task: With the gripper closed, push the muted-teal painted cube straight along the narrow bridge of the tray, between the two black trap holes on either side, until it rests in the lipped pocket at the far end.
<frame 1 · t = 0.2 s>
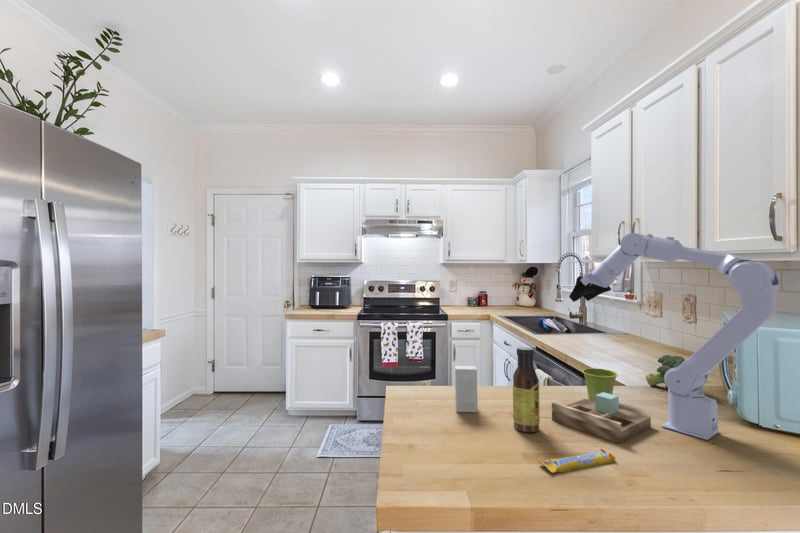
hand: (578, 298, 118), 31 cm above the countertop, tool tilted 45°, fingers open, 7 cm apart
vegetable: (670, 391, 126), on the countertop
candy bar: (578, 466, 78), on the countertop
block: (607, 410, 101), point 2 cm above the countertop, touching tray
skincare box: (466, 410, 109), on the countertop
plant pot: (599, 401, 116), on the countertop
tray: (600, 423, 99), on the countertop
sauce bottle: (526, 429, 96), on the countertop
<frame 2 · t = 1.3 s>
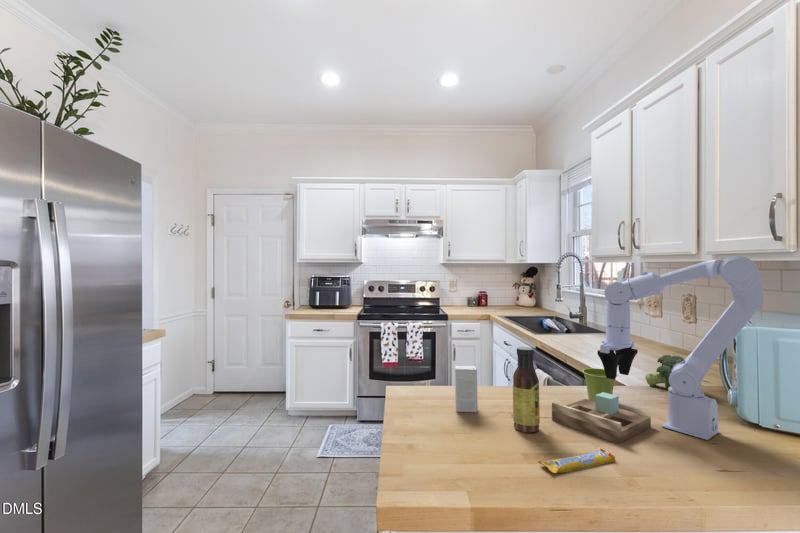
hand: (617, 376, 105), 10 cm above the countertop, tool pointing down, fingers open, 7 cm apart
nothing on the countertop moved.
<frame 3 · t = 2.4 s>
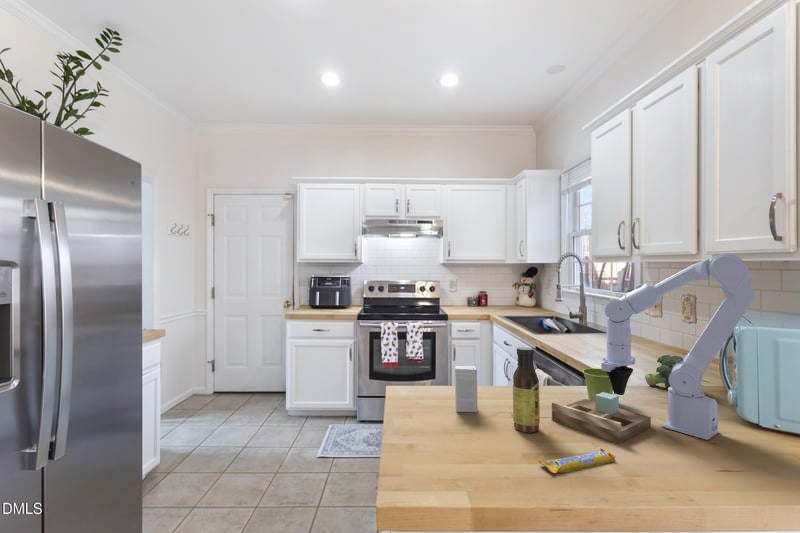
hand: (618, 394, 104), 6 cm above the countertop, tool pointing down, fingers closed
nothing on the countertop moved.
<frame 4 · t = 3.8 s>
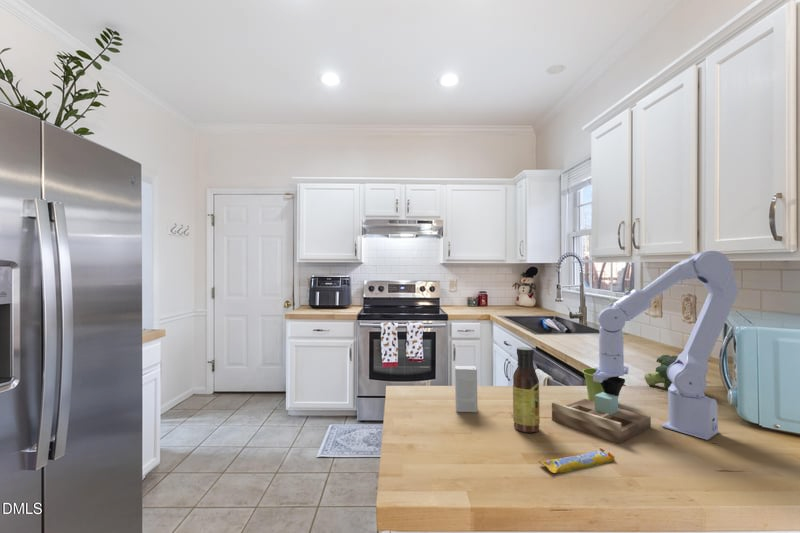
hand: (611, 404, 102), 4 cm above the countertop, tool pointing down, fingers closed
block: (606, 410, 100), point 3 cm above the countertop, touching tray, gripper
everything else where it was.
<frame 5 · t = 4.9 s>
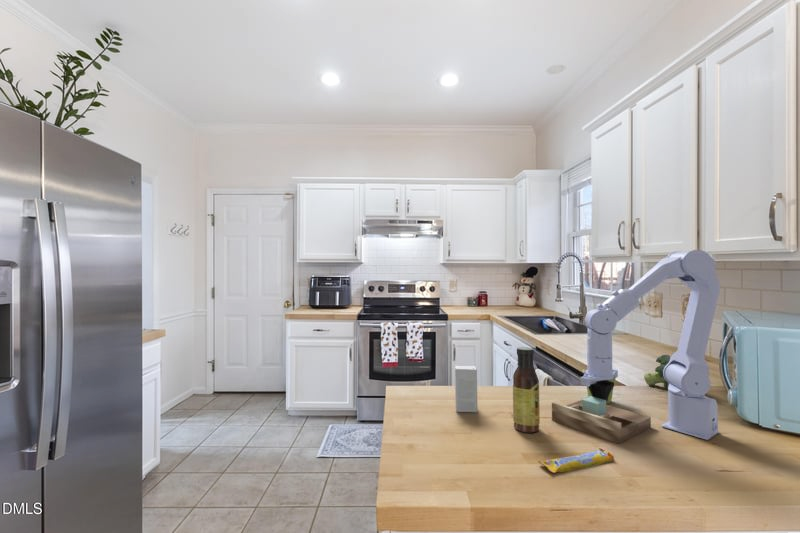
hand: (600, 409, 99), 4 cm above the countertop, tool pointing down, fingers closed, pressing on block
block: (594, 415, 97), point 3 cm above the countertop, touching gripper
everything else where it was.
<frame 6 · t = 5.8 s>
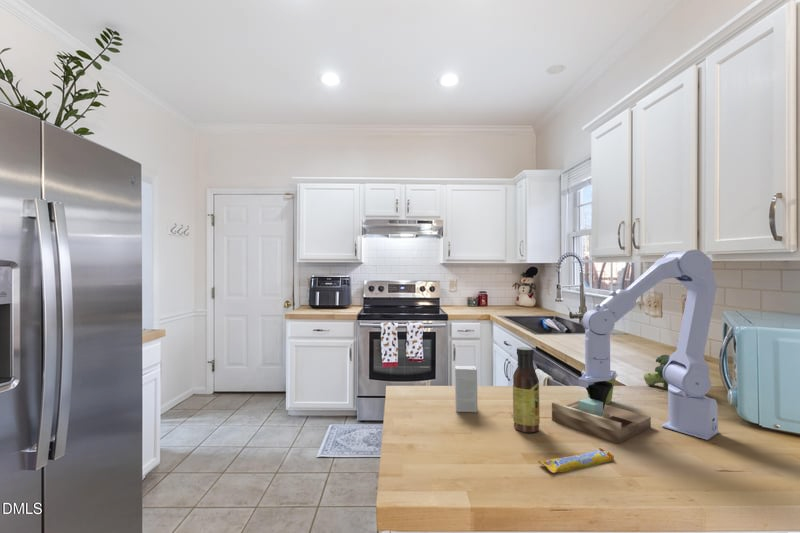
hand: (598, 410, 98), 4 cm above the countertop, tool pointing down, fingers closed
block: (591, 417, 96), point 3 cm above the countertop, touching tray, gripper
everything else where it was.
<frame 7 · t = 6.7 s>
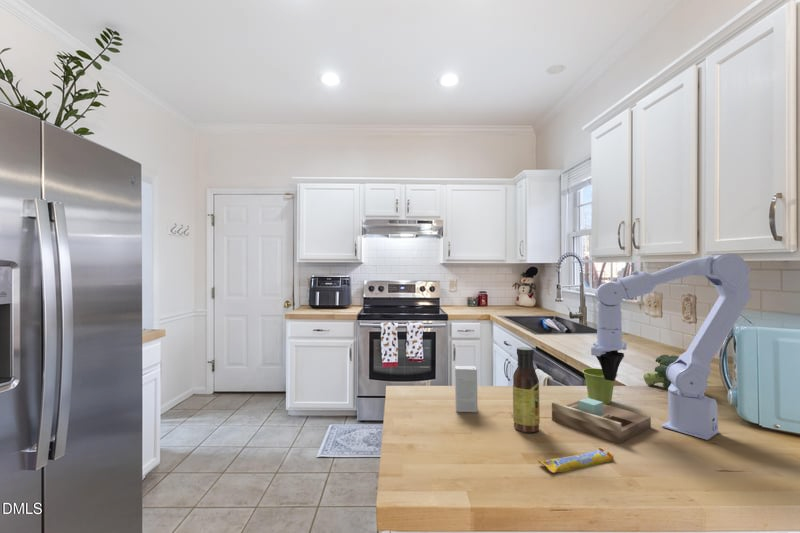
hand: (609, 379, 102), 10 cm above the countertop, tool pointing down, fingers closed
block: (591, 417, 96), point 2 cm above the countertop, touching tray
everything else where it was.
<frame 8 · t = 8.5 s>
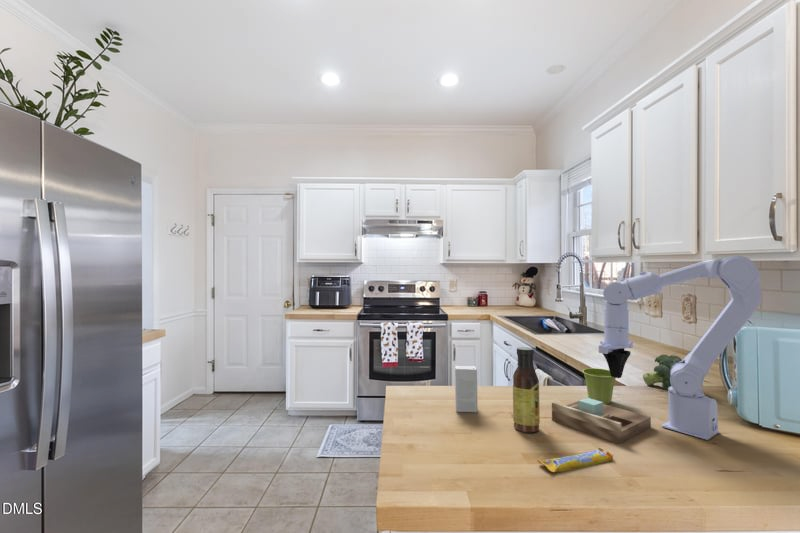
hand: (616, 377, 104), 10 cm above the countertop, tool pointing down, fingers closed
nothing on the countertop moved.
at the end: block 0.7 cm from the target spot on the tray, point 2.5 cm above the tray's base; block tilted 0° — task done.
